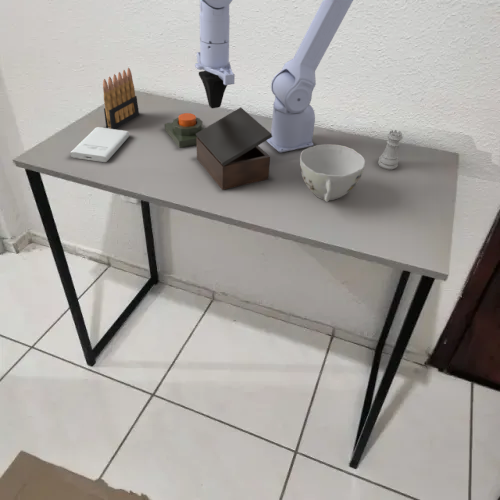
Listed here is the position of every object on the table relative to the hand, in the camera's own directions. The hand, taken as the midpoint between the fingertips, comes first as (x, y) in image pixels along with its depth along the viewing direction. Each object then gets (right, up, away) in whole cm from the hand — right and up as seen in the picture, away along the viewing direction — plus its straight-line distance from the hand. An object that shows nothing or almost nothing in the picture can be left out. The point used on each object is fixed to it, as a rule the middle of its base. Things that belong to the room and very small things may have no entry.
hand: (214, 106), depth 100 cm
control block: (-7, -3, +12) cm, 14 cm away
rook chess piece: (+38, -12, +5) cm, 40 cm away
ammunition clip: (-24, +1, +16) cm, 29 cm away
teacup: (+23, -20, -6) cm, 31 cm away
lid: (+4, -7, -4) cm, 9 cm away
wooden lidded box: (+4, -13, +1) cm, 14 cm away
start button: (-7, -1, +10) cm, 12 cm away
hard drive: (-26, -8, +5) cm, 28 cm away
